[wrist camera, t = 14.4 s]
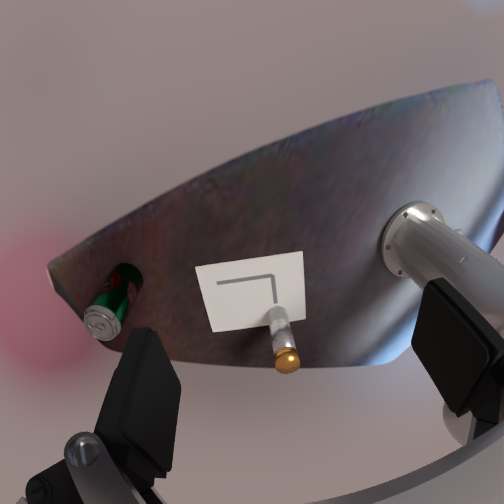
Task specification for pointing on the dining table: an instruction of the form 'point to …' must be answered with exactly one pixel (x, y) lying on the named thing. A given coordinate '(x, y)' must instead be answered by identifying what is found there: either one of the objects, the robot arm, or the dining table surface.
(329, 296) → the dining table surface
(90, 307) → the soda can
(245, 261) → the paper
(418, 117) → the dining table surface
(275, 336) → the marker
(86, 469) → the robot arm
